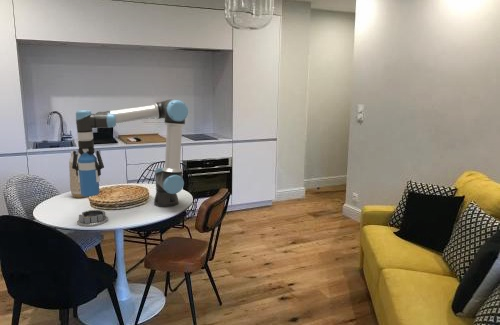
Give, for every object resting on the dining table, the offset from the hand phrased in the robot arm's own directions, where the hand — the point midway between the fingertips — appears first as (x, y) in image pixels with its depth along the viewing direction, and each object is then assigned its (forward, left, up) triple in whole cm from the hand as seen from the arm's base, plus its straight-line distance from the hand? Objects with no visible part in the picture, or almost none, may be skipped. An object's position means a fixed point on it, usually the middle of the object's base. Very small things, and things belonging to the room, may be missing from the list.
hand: (89, 181), depth 213 cm
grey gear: (0, 0, -22) cm, 22 cm away
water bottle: (0, 0, -7) cm, 7 cm away
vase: (+28, -51, -23) cm, 62 cm away
